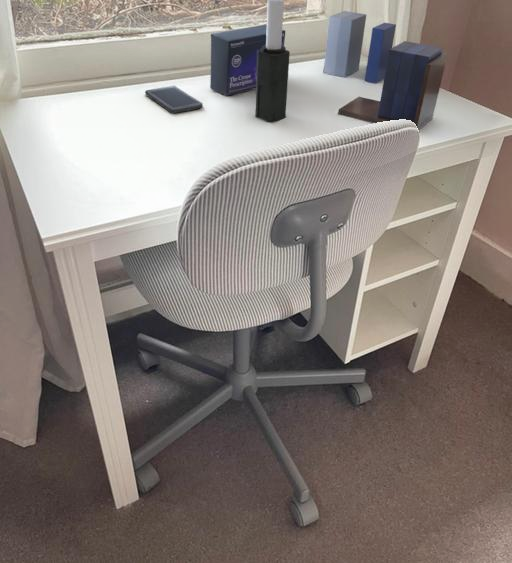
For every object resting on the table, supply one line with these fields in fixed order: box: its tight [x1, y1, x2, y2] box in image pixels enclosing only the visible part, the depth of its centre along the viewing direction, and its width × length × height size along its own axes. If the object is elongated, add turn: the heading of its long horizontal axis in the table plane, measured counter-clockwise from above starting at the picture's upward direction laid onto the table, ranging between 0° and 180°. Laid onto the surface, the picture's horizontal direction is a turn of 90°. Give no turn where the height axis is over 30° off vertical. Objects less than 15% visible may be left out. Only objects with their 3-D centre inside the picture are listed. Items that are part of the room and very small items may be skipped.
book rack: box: [337, 40, 449, 131], centre depth 107 cm, size 17×10×14 cm, turn 56°
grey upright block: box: [323, 10, 367, 78], centre depth 132 cm, size 6×8×13 cm
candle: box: [254, 0, 291, 123], centre depth 102 cm, size 5×5×25 cm
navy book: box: [364, 22, 397, 84], centre depth 128 cm, size 3×7×12 cm, turn 146°
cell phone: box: [144, 85, 204, 114], centre depth 115 cm, size 7×14×1 cm, turn 34°
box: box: [209, 23, 286, 97], centre depth 121 cm, size 17×7×12 cm, turn 132°
